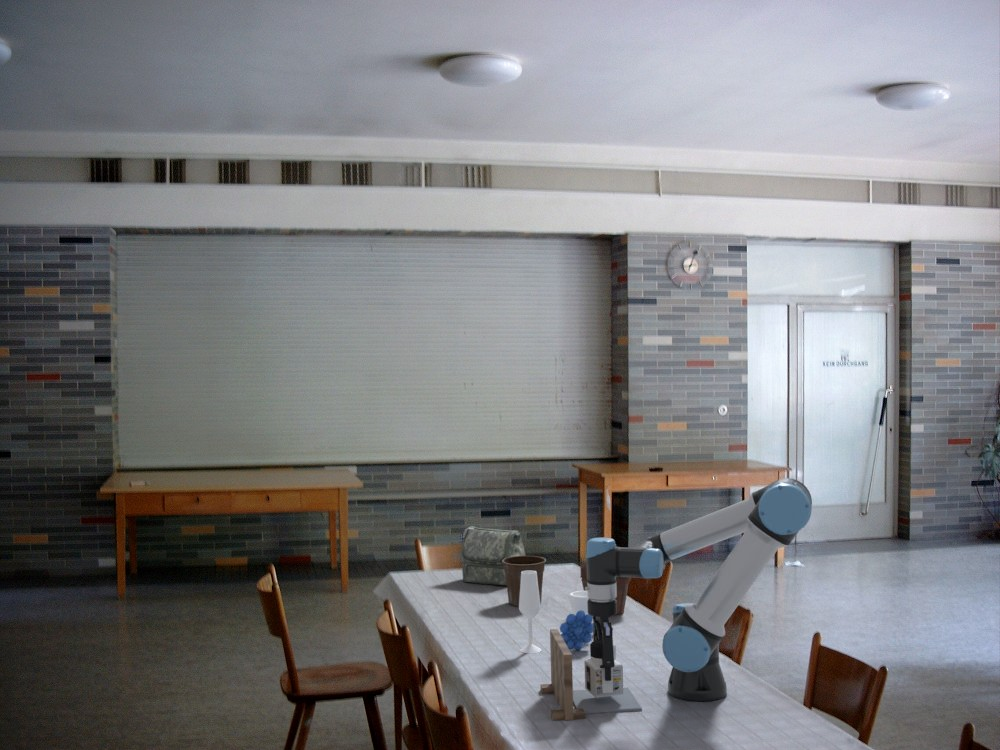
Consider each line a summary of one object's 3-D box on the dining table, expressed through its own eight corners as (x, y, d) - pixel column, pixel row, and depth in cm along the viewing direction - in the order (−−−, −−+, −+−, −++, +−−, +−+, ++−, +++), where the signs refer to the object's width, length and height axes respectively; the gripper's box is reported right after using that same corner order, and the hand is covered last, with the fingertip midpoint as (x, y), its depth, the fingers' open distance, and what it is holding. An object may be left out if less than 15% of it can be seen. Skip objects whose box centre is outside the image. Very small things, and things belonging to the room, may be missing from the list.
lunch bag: (454, 582, 399) (453, 529, 399) (478, 574, 415) (477, 522, 415) (508, 588, 385) (507, 533, 385) (531, 579, 401) (530, 526, 401)
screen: (585, 719, 239) (584, 653, 238) (553, 721, 238) (551, 655, 238) (569, 687, 262) (568, 628, 262) (540, 689, 262) (538, 629, 262)
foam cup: (598, 638, 310) (597, 597, 310) (569, 637, 312) (568, 596, 312) (601, 630, 320) (600, 590, 320) (573, 629, 321) (572, 590, 321)
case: (631, 604, 354) (629, 555, 354) (633, 618, 334) (631, 566, 334) (582, 605, 356) (580, 556, 356) (581, 619, 336) (579, 567, 336)
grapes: (591, 644, 304) (590, 606, 304) (598, 650, 297) (597, 611, 297) (555, 647, 301) (554, 609, 301) (561, 653, 294) (560, 614, 294)
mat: (642, 710, 244) (641, 707, 244) (578, 713, 242) (578, 711, 242) (627, 689, 260) (627, 687, 260) (568, 692, 258) (568, 690, 258)
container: (595, 698, 246) (594, 646, 246) (584, 689, 254) (583, 639, 254) (623, 694, 248) (622, 644, 248) (612, 685, 256) (611, 636, 256)
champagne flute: (528, 645, 304) (526, 568, 304) (546, 649, 299) (544, 571, 299) (515, 650, 298) (513, 572, 298) (532, 654, 294) (530, 575, 294)
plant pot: (547, 608, 351) (546, 563, 351) (502, 609, 352) (501, 564, 352) (546, 597, 368) (545, 555, 368) (503, 598, 368) (502, 556, 368)
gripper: (580, 590, 261) (582, 675, 261) (595, 609, 240) (597, 701, 240) (608, 589, 262) (610, 673, 262) (625, 607, 241) (627, 699, 241)
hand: (604, 686), depth 251 cm, fingers closed on container, 8 cm apart
